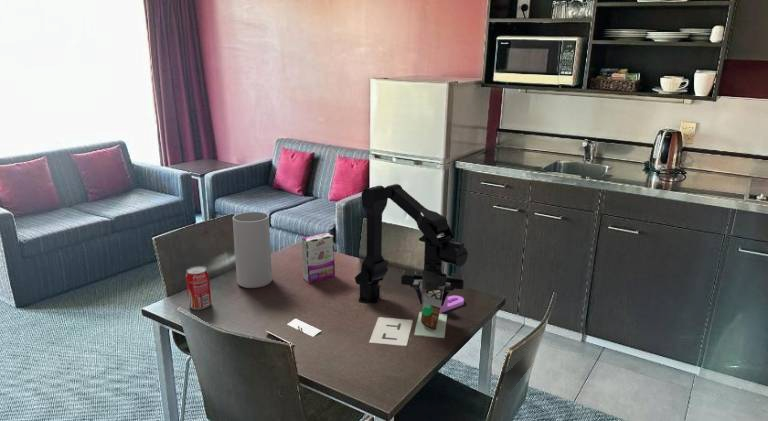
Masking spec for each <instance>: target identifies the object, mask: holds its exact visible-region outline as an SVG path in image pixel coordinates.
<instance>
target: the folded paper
mask: <svg viewBox="0 0 768 421" xmlns="http://www.w3.org/2000/svg"><path fill="white" fill-rule="evenodd" d="M286 325H287V326H290V327H291V328H294V329H295V330H297V331H299V332H303V333H304V334H306V335H308V336H310V337H315V336H316V335H317V334H319V333H320V332H322V330H321V329H320V328H317V327H315V326H312V325H310V324H308V323H306V322H304V321H302V320H299V319H298V318H294V319H292V320H291V321H290V322H288V323H287V324H286ZM266 332H267V333H269V334H271V335H273V336H275V337H276V338H279V339H280V340H283V341H284V342H286V343H288V344H290V343H291V342H290V341H288V340H286V339H284V338H283V337H280V336H278V335H276V334H275V333H272V332H270V331H267V330H266ZM291 345H292V346H293V345H294V346H295V344H294V343H291Z"/></svg>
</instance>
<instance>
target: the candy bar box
mask: <svg viewBox="0 0 768 421" xmlns="http://www.w3.org/2000/svg"><path fill="white" fill-rule="evenodd" d="M334 239H335V237H334V235H333V234H332V233H329V232H325V233H319V234H315V235H310V236H305V237H301V254H302V272H303V273H302V275H303V280H304V281H306V282H307V283H308V284H310V283H315V282H319V281H323V280H326V279H330V278H335V277H336V269H335V268H336V267H335V266H336V265H335V240H334Z"/></svg>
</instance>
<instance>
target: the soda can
mask: <svg viewBox="0 0 768 421" xmlns="http://www.w3.org/2000/svg"><path fill="white" fill-rule="evenodd" d="M185 282H186V292H187V301H188V306H189V308H190V309H191V310H195V311H200V310H204V309H207V308H209V307H210V306H211V304H212V296H211V286H210V276H209V271H208V269H207V267H205V266H204V265H203V266H202V265H198V266H191V267H189V268H188V269H186V274H185Z"/></svg>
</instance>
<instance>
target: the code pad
mask: <svg viewBox="0 0 768 421" xmlns="http://www.w3.org/2000/svg"><path fill="white" fill-rule="evenodd" d="M413 320H414V319H407V318H406V319H403V318H393V317H383V316H380V317H379V316H378V318H377V320H376V323H375V326H374V328H373V330H372V333H371V336H370V339H369V341H368V343H370V344H379V345H380V344H381V345H391V346H401V347H407V345H408V341H409V338H410V334H411V329H412V326H413Z"/></svg>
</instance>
